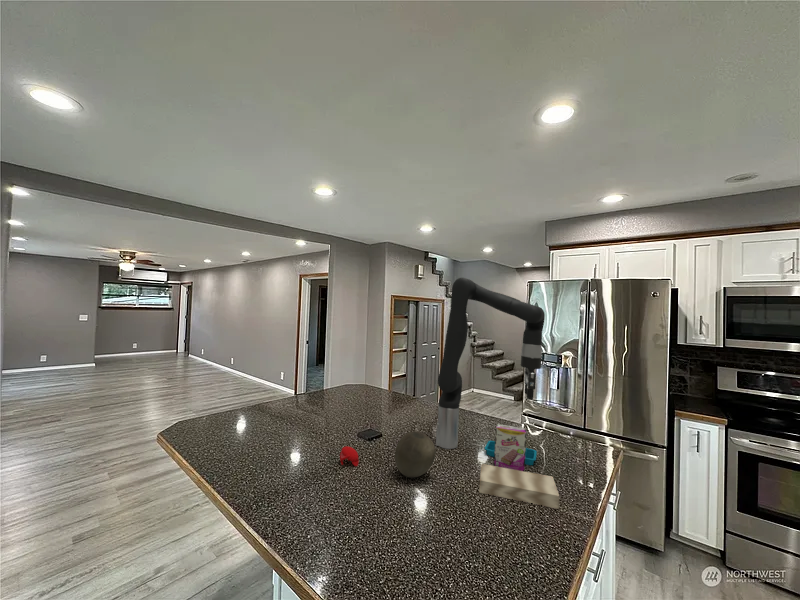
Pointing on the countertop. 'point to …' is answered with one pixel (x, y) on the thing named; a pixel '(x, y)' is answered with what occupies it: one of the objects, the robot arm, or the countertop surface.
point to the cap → (349, 455)
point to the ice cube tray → (529, 453)
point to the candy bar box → (510, 447)
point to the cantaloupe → (414, 454)
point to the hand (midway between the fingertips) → (528, 396)
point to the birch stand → (519, 486)
